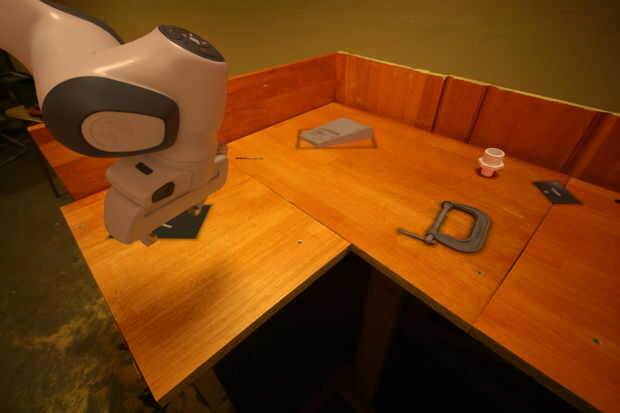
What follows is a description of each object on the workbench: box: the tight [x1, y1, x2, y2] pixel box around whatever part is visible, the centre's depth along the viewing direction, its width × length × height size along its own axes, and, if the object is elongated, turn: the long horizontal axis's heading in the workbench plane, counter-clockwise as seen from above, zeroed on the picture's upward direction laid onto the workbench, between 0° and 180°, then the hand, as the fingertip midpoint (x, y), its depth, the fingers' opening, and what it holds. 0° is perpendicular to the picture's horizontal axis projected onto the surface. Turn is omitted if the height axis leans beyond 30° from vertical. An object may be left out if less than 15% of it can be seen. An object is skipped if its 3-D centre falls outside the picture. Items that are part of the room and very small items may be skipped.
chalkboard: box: [108, 204, 212, 240], centre depth 80 cm, size 22×13×1 cm, turn 88°
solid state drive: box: [533, 181, 581, 205], centre depth 85 cm, size 7×10×1 cm
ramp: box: [298, 117, 374, 149], centre depth 114 cm, size 28×16×5 cm, turn 89°
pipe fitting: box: [477, 147, 506, 177], centre depth 92 cm, size 6×7×8 cm
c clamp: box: [398, 199, 491, 254], centre depth 76 cm, size 20×17×3 cm
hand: (172, 226), depth 50 cm, fingers open, 8 cm apart
